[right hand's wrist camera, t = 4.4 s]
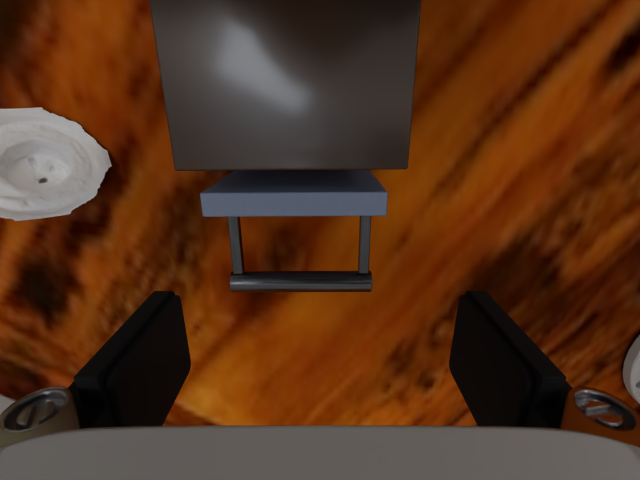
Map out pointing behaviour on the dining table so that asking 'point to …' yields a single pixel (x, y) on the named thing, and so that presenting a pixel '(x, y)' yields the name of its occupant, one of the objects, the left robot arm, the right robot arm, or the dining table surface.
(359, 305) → the dining table surface
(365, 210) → the drawer
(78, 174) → the seashell
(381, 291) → the dining table surface
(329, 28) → the cabinet
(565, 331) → the dining table surface
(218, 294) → the dining table surface
